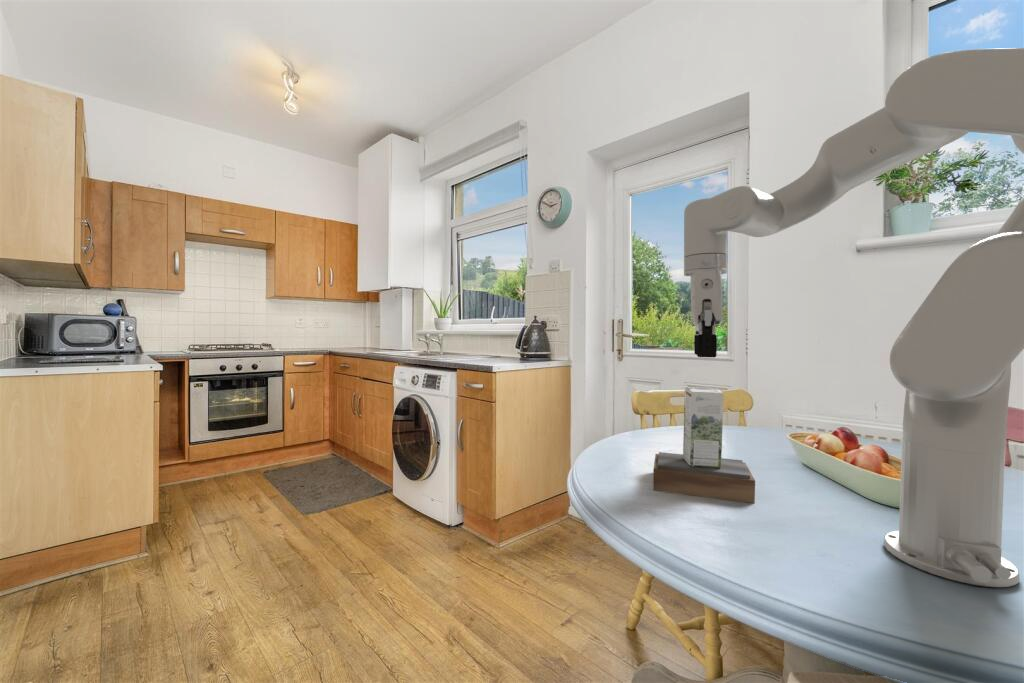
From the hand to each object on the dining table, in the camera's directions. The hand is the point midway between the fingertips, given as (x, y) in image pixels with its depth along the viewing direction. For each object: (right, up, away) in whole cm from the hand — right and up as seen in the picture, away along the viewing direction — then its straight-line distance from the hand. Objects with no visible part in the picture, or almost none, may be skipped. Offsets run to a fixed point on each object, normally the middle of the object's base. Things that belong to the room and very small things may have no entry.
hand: (704, 355), depth 83 cm
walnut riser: (0, -25, +1) cm, 25 cm away
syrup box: (0, -21, 0) cm, 21 cm away
